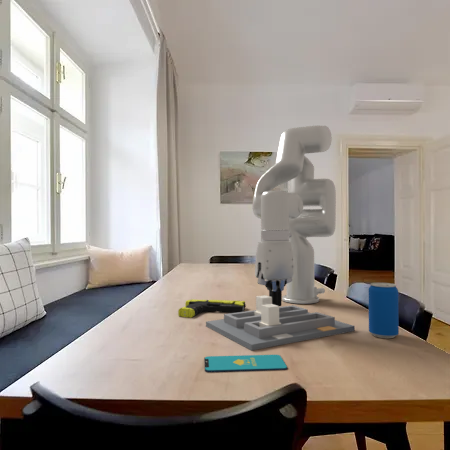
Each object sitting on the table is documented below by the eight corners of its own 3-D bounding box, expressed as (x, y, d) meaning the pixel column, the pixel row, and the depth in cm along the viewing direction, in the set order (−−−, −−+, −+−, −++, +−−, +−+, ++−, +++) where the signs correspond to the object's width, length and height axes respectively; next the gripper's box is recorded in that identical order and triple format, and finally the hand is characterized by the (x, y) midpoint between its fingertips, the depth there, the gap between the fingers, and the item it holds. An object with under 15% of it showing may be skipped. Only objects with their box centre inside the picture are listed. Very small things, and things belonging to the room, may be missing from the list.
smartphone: (288, 367, 67) (204, 369, 66) (288, 371, 67) (204, 374, 66) (279, 354, 74) (204, 356, 73) (279, 358, 74) (204, 360, 73)
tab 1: (266, 316, 101) (266, 295, 101) (273, 319, 98) (273, 296, 98) (254, 318, 99) (254, 296, 99) (261, 320, 96) (261, 298, 96)
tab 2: (273, 327, 90) (273, 303, 90) (281, 330, 87) (281, 305, 87) (259, 329, 88) (259, 305, 88) (267, 333, 85) (266, 307, 85)
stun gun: (240, 311, 104) (246, 300, 119) (174, 308, 107) (187, 298, 122) (240, 321, 104) (246, 309, 119) (174, 318, 107) (187, 307, 122)
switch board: (297, 312, 111) (296, 302, 111) (354, 330, 92) (354, 317, 92) (205, 326, 97) (205, 313, 97) (251, 350, 78) (251, 335, 78)
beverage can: (398, 333, 90) (398, 283, 90) (398, 340, 84) (398, 287, 84) (369, 330, 92) (369, 281, 92) (367, 337, 87) (367, 285, 87)
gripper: (288, 236, 107) (288, 300, 107) (244, 237, 100) (244, 305, 100) (305, 236, 101) (306, 305, 100) (259, 237, 93) (260, 311, 93)
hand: (275, 305), depth 100 cm, fingers closed
